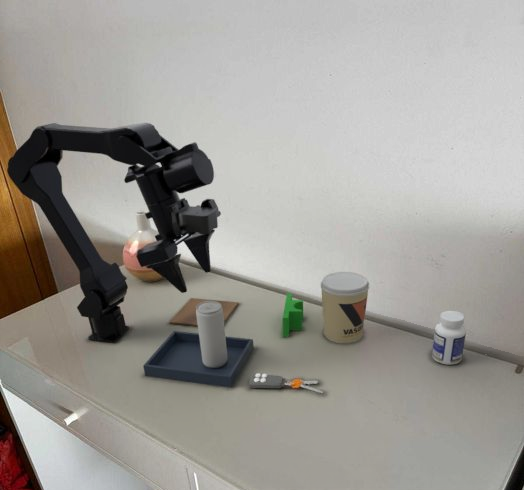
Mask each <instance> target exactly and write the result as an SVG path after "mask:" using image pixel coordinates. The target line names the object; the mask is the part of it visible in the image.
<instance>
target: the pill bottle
mask: <svg viewBox="0 0 524 490" xmlns="http://www.w3.org/2000/svg"><path fill="white" fill-rule="evenodd" d="M464 323H465V316H464V314H463V313H461V312H459V311H456V310H445V311H443V312H442V313H440V317H439V323H437V324H436V325H435V328H434V335H433V342H432V350H431V356H432V359H433V360H434V361H435V362H437V363H439V364H443V365H448V366H450V365H451V366H452V365H456V364H459V363H460V362H462V360H463V352H464V347H465V340H466V336H467V329H466V327H465V325H464Z"/></svg>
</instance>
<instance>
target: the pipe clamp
mask: <svg viewBox="0 0 524 490" xmlns="http://www.w3.org/2000/svg"><path fill="white" fill-rule="evenodd" d="M285 297H286V298H285V303H284V306H283V313H282V337H283V338H290V337H289V336H290V331H303V320H304V300H303V299H293V294H292V293H286V296H285Z"/></svg>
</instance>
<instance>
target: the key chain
mask: <svg viewBox="0 0 524 490" xmlns="http://www.w3.org/2000/svg"><path fill="white" fill-rule="evenodd" d="M318 383H319V381H318V380H302V379H301V378H295V379H293V380H292V381H289V380H288V381H287V379H286V378H285V377H283V376H282V375H276V374H275V375H273V374H267V373H259V372H258V373H253V374H251V376H250V378H249V383H248V384H249V387H250V388H252V389H281V388H282V387H283V388H284V387H285V386H290V387H291V388H293V389H298V388H300V387H301V388H303V389H307V390H309V391H313V392H316V393H319V394H323V391H322V390H320V389H317V388H314V387H311V386H310V385H317V384H318Z"/></svg>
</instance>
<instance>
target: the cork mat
mask: <svg viewBox="0 0 524 490" xmlns="http://www.w3.org/2000/svg"><path fill="white" fill-rule="evenodd" d="M206 301H216V302H219V303H220V304H221V306H222V309H223V319H224V324H225V323H226V321H227V320H228V319H229V317H230V316H231V315H232V313H233V312H234V310H235V309H236V308H237V307H238V305H239V302H238V301H228V300H227V301H226V300H217V299H216V300H215V299H203V298H193V297H191V298H190V299H189V300H188V301H187V302H186V303H185V305H183V307H182V308H180V310H179V311H178V312H177V313H176V314H175V315H174V316H173V317H172V318H171V319H170V321H169V324H172V325H179V326H187V327H190V326H191V327H198V324H197V316H196V307H197V305H198V304H200V303H203V302H206Z"/></svg>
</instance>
